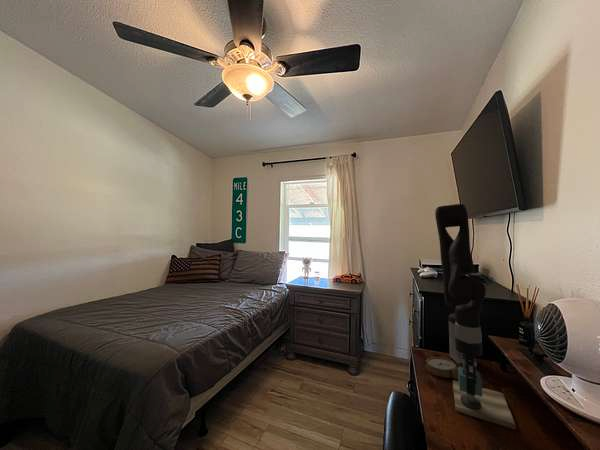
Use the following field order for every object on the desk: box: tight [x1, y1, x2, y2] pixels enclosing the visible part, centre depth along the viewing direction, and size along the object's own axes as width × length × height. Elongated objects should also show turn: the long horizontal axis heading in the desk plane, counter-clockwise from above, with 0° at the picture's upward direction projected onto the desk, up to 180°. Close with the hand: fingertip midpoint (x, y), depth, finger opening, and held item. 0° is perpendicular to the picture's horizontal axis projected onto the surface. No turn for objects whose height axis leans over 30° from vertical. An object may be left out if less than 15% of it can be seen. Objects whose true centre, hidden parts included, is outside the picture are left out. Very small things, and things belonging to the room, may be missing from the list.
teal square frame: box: [457, 366, 483, 397], centre depth 79 cm, size 6×6×5 cm
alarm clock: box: [424, 356, 463, 381], centre depth 99 cm, size 11×5×15 cm
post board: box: [452, 379, 517, 430], centre depth 81 cm, size 16×15×8 cm
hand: (469, 388), depth 79 cm, fingers closed on teal square frame, 6 cm apart
